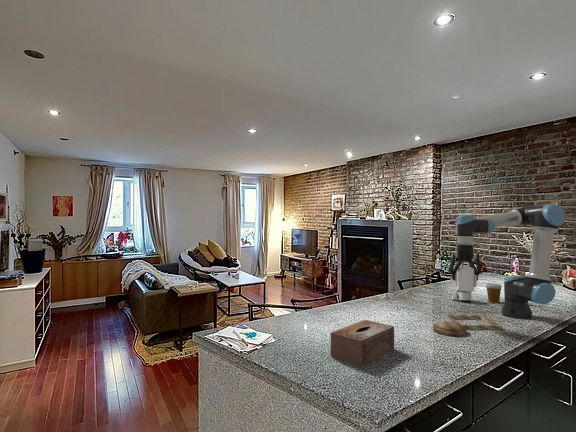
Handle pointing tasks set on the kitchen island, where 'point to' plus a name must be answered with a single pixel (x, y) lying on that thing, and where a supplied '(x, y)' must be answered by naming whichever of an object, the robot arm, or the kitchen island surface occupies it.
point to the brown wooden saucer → (449, 329)
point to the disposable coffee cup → (493, 292)
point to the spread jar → (462, 296)
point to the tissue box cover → (362, 342)
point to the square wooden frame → (492, 326)
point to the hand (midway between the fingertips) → (464, 286)
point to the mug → (465, 279)
